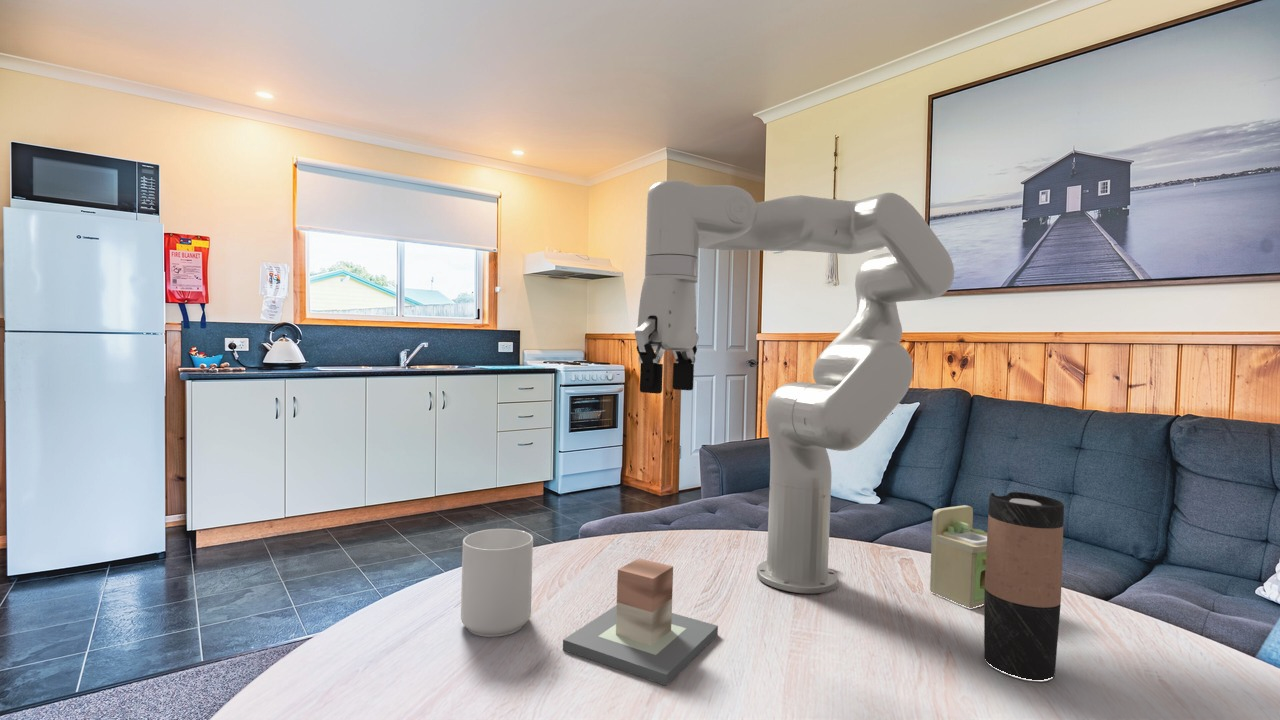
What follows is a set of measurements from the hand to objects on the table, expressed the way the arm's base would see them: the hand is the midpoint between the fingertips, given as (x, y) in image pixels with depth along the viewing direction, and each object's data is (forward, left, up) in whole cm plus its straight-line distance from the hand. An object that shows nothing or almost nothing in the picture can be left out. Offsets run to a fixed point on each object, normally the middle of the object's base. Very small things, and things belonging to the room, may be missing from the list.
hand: (667, 391), depth 87 cm
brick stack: (+12, +4, -29) cm, 32 cm away
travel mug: (-8, +44, -31) cm, 54 cm away
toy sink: (-28, +38, -31) cm, 56 cm away
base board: (+12, +4, -30) cm, 33 cm away
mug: (+17, -15, -31) cm, 38 cm away
